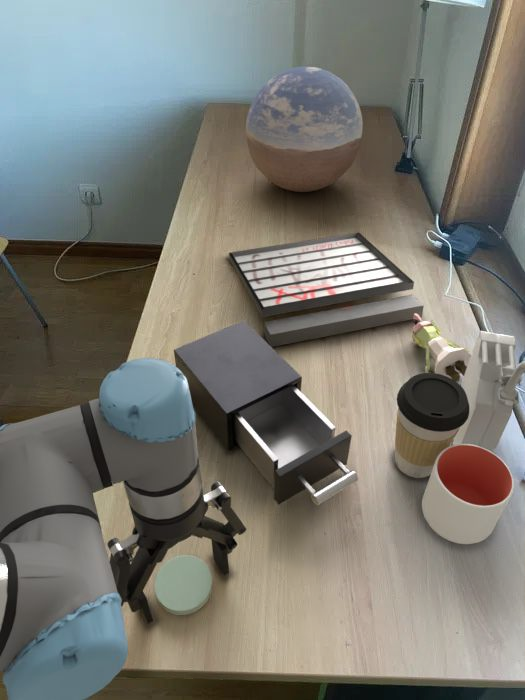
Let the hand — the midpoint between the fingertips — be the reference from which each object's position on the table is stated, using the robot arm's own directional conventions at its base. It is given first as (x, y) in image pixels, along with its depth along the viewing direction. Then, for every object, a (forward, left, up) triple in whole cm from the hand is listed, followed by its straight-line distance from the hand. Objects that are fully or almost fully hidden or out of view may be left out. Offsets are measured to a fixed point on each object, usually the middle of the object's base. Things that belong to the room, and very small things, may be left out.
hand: (184, 588), depth 72 cm
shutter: (+55, +42, 0) cm, 69 cm away
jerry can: (+49, -4, 0) cm, 49 cm away
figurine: (+59, +12, 0) cm, 60 cm away
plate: (0, 0, 0) cm, 0 cm away
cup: (+37, -12, 0) cm, 39 cm away
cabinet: (+23, +24, 0) cm, 33 cm away
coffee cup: (+39, -2, 0) cm, 39 cm away
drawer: (+23, +8, +1) cm, 24 cm away
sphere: (+80, +82, 0) cm, 115 cm away
